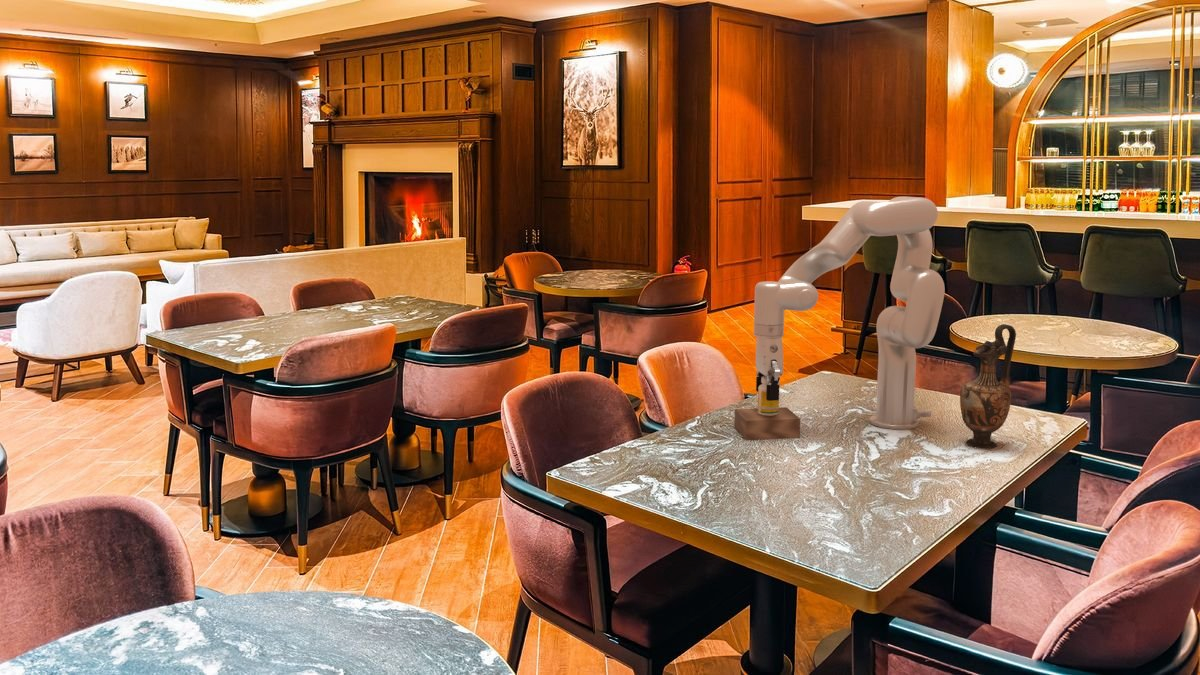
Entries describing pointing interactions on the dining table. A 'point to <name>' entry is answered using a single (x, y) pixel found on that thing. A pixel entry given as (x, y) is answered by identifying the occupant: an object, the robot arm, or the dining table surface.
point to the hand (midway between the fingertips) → (767, 395)
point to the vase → (988, 391)
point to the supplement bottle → (766, 401)
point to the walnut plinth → (767, 424)
